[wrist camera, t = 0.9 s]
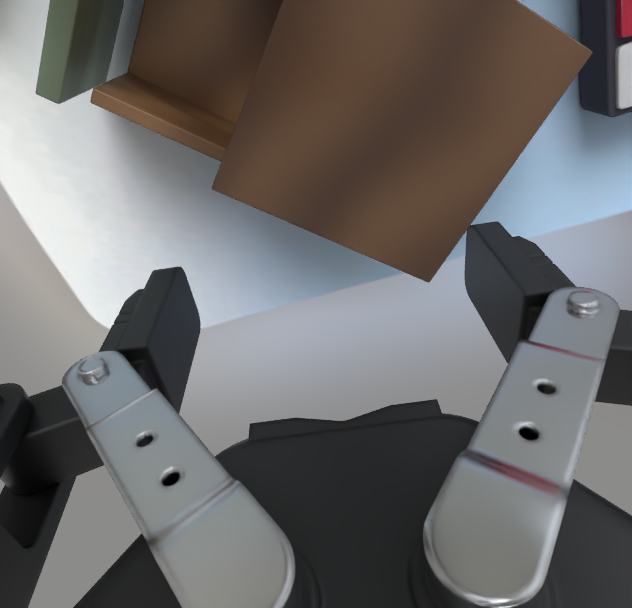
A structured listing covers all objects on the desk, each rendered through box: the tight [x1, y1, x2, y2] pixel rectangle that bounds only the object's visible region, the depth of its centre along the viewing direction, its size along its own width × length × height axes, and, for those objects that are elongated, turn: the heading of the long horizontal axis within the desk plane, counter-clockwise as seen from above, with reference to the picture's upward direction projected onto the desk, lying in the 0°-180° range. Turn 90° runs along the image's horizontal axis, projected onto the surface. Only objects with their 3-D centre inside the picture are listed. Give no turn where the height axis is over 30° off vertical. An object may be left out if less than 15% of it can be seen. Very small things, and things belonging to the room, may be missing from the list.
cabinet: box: [212, 0, 593, 282], centre depth 28 cm, size 15×15×9 cm
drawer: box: [36, 0, 283, 162], centre depth 25 cm, size 15×13×7 cm
